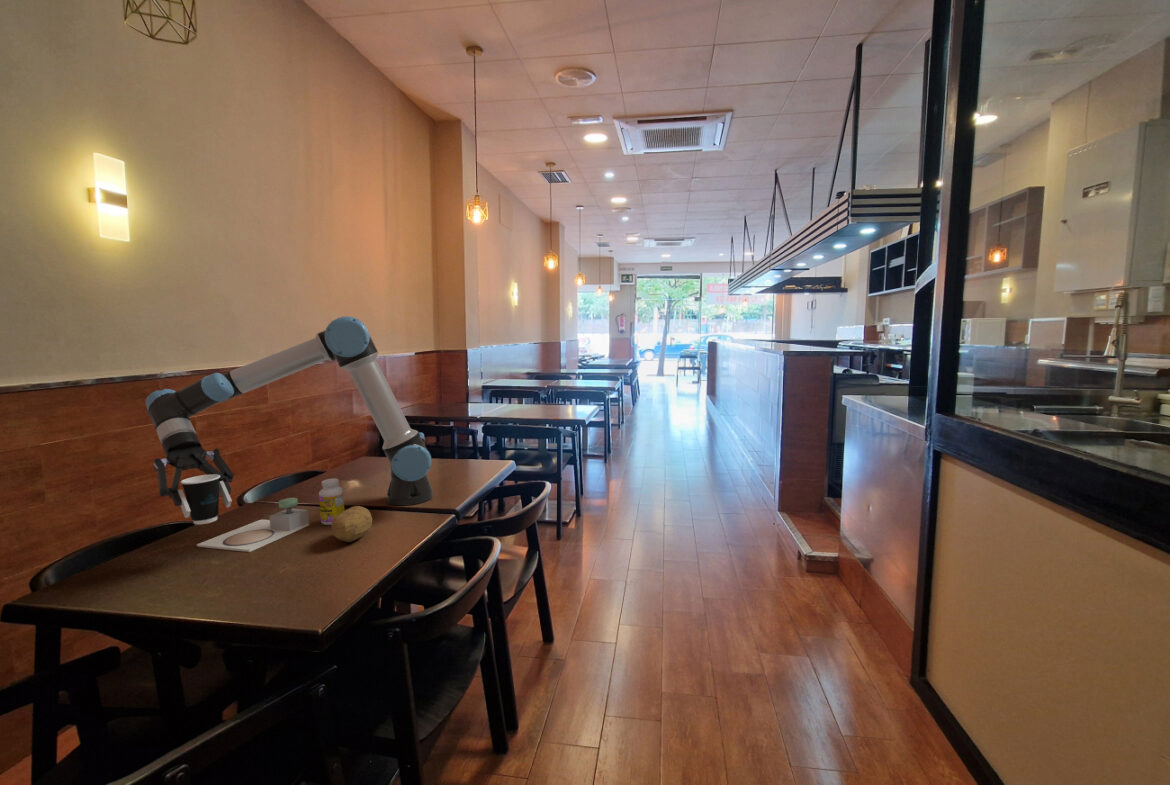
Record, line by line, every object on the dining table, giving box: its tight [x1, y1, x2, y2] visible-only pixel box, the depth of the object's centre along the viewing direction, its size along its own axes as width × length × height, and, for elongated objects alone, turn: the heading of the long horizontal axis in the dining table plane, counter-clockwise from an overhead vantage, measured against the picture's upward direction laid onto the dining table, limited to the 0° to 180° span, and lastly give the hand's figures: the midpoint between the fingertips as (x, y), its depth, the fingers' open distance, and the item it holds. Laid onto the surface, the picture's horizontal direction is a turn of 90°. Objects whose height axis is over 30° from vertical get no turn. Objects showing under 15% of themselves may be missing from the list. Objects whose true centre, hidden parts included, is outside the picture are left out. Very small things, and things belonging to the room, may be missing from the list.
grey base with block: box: [196, 508, 310, 553], centre depth 144 cm, size 18×20×5 cm
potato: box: [330, 505, 373, 543], centre depth 139 cm, size 10×14×8 cm
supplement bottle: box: [318, 478, 346, 526], centre depth 153 cm, size 7×7×13 cm
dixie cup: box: [180, 474, 220, 525], centre depth 127 cm, size 8×8×11 cm
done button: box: [278, 497, 298, 514], centre depth 149 cm, size 5×5×6 cm
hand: (209, 509), depth 125 cm, fingers closed on dixie cup, 8 cm apart
